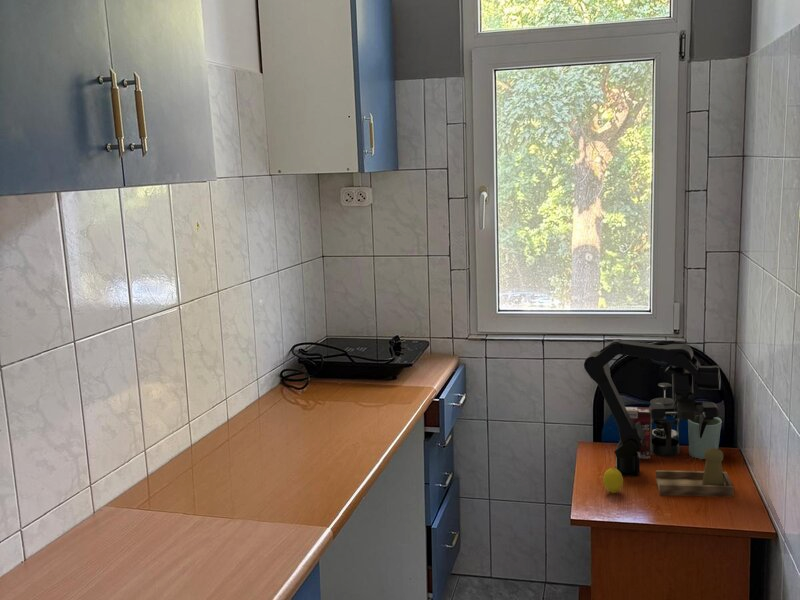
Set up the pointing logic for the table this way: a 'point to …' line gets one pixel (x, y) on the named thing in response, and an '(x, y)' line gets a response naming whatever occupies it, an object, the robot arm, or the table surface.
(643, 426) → the supplement box
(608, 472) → the lemon
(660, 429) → the french press
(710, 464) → the olive pawn figure
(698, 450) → the pale green plant pot
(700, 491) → the track
